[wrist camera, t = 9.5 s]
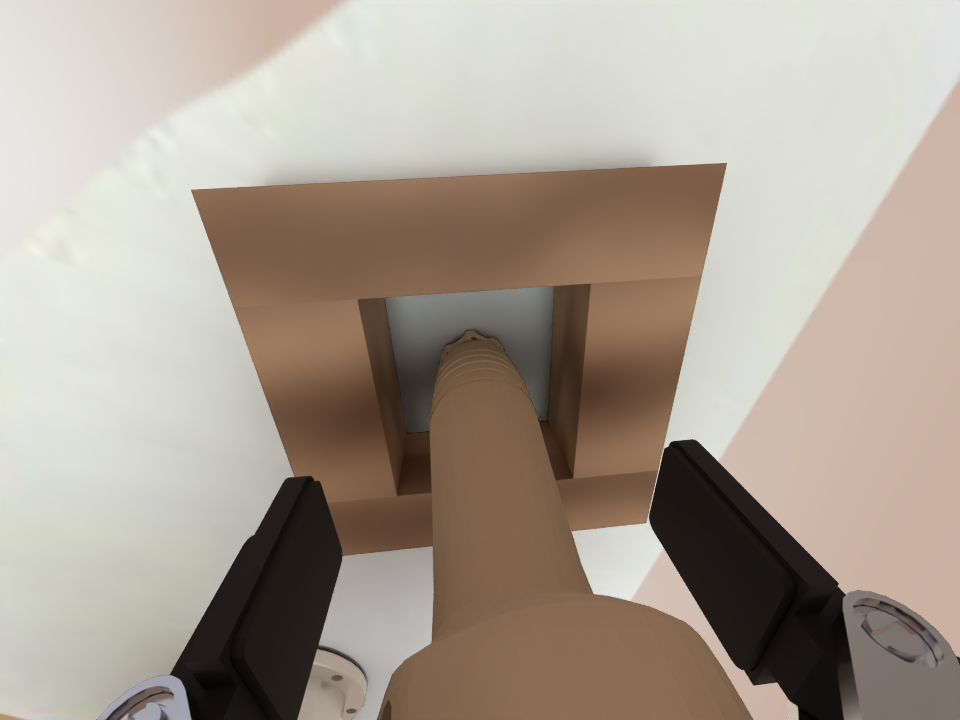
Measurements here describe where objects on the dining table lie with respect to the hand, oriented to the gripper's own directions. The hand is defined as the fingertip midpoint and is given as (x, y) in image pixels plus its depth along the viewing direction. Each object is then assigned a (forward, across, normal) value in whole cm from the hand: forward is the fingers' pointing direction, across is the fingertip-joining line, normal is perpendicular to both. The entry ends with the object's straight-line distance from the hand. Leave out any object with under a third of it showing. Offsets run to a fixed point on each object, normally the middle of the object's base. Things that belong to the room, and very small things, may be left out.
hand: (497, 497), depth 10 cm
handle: (+10, 0, 0) cm, 10 cm away
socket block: (+9, 0, 0) cm, 9 cm away
